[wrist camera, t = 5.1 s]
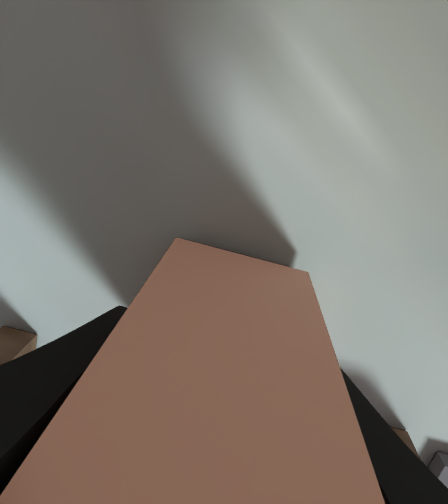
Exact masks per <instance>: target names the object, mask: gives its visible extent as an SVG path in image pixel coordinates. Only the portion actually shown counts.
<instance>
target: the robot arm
mask: <svg viewBox="0 0 448 504" xmlns="http://www.w3.org/2000/svg"><path fill="white" fill-rule="evenodd" d="M127 309H128V308H127V307H123V306H117V307H115V308H114V309H112V310H110V311H108V312H106V313H104V314H102V315H101V316H99V317H97V318H95V319H94V320H92V321H90V322H88V323H86V324H85V325H83V326H81V327H79V328H77V329H75V330H73V331H72V332H70V333H68V334H66V335H64V336H62V337H60V338H58V339H56V340H54V341H52V342H50V343H48V344H46V345H44V346H42V347H39V348H37V349H35V350H33V351H31V352H29V353H26V354H24V355H22V356H20V357H18V358H16V359H13V360H11V361H9V362H6V363H4V364H1V365H0V495H1V494H2V492H3V491H4V489H5V488H6V487H7V485H8V484H9V482H10V481H11V479H12V478H13V476H14V475H15V473H16V472H17V470H18V469H19V467H20V466H21V464H22V463H23V462H24V460H25V459H26V457H27V456H28V454H29V453H30V451H31V450H32V448H33V447H34V445H35V444H36V442H37V441H38V439H39V438H40V437H41V435H42V434H43V432H44V431H45V429H46V428H47V426H48V425H49V423H50V422H51V420H52V419H53V417H54V416H55V415H56V413H57V412H58V410H59V409H60V407H61V406H62V404H63V403H64V401H65V400H66V398H67V397H68V395H69V394H70V392H71V391H72V390H73V388H74V387H75V385H76V384H77V382H78V381H79V379H80V378H81V376H82V375H83V373H84V372H85V370H86V369H87V367H88V366H89V365H90V363H91V362H92V360H93V359H94V357H95V356H96V354H97V353H98V351H99V350H100V348H101V347H102V345H103V344H104V342H105V341H106V340H107V338H108V337H109V335H110V334H111V332H112V331H113V329H114V328H115V326H116V325H117V323H118V322H119V320H120V319H121V317H122V316H123V315H124V313H125V312H126V310H127ZM340 369H341V368H340ZM341 372H342V375H343V378H344V381H345V384H346V387H347V390H348V393H349V396H350V399H351V402H352V405H353V409H354V412H355V415H356V418H357V421H358V424H359V427H360V430H361V433H362V436H363V439H364V442H365V445H366V448H367V451H368V454H369V457H370V460H371V463H372V466H373V469H374V472H375V475H376V478H377V481H378V484H379V487H380V490H381V493H382V496H383V499H384V502H385V504H448V488H447V487H446V486H445V485H444V484H443V483H442V482H441V481H440V480H439V479H438V478H437V477H436V476H435V475H434V474H433V473H432V472H431V471H430V470H429V469H428V467H427V466H426V465H425V464H424V463H423V462H422V461H421V460H420V459H419V458H418V457H417V456H416V455H415V454H414V453H413V452H412V450H411V449H410V448H409V447H408V446H407V445H406V444H405V443H404V442H403V441H402V440H401V438H400V437H399V436H398V435H397V434H396V433H395V432H394V431H393V429H392V428H391V427H390V426H389V425H388V424H387V423H386V421H385V420H384V419H383V418H382V417H381V416H380V414H379V413H378V412H377V411H376V410H375V408H374V407H373V406H372V405H371V404H370V402H369V401H368V400H367V399H366V398H365V396H364V395H363V394H362V393H361V392H360V390H359V389H358V388H357V387H356V386H355V384H354V383H353V382H352V381H351V380H350V379H349V377H348V376H347V375H346V374H345V373H344V372H343V370H342V369H341Z"/></svg>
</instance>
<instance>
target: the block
mask: <svg viewBox="0 0 448 504" xmlns="http://www.w3.org/2000/svg"><path fill="white" fill-rule="evenodd" d="M0 504H385V502H384V499H383V496H382V493H381V490H380V487H379V484H378V481H377V478H376V475H375V472H374V469H373V466H372V463H371V460H370V457H369V454H368V451H367V448H366V445H365V442H364V439H363V436H362V433H361V430H360V427H359V424H358V421H357V418H356V415H355V412H354V409H353V405H352V402H351V399H350V396H349V393H348V390H347V387H346V384H345V381H344V378H343V375H342V372H341V369H340V366H339V363H338V360H337V357H336V354H335V351H334V348H333V345H332V342H331V339H330V336H329V333H328V330H327V327H326V324H325V321H324V318H323V315H322V312H321V309H320V306H319V303H318V300H317V297H316V294H315V291H314V288H313V285H312V282H311V279H310V276H309V273H308V272H306V271H302V270H298V269H294V268H290V267H287V266H283V265H279V264H275V263H272V262H268V261H264V260H260V259H256V258H253V257H249V256H245V255H241V254H238V253H234V252H230V251H226V250H223V249H219V248H215V247H211V246H207V245H204V244H200V243H196V242H192V241H189V240H185V239H181V238H177V237H176V238H175V240H174V241H173V243H172V244H171V245H170V247H169V248H168V250H167V251H166V253H165V254H164V256H163V257H162V259H161V260H160V262H159V263H158V265H157V266H156V267H155V269H154V270H153V272H152V273H151V275H150V276H149V278H148V279H147V281H146V282H145V284H144V285H143V287H142V288H141V290H140V291H139V292H138V294H137V295H136V297H135V298H134V300H133V301H132V303H131V304H130V306H129V307H128V309H127V310H126V312H125V313H124V315H123V316H122V317H121V319H120V320H119V322H118V323H117V325H116V326H115V328H114V329H113V331H112V332H111V334H110V335H109V337H108V338H107V340H106V341H105V342H104V344H103V345H102V347H101V348H100V350H99V351H98V353H97V354H96V356H95V357H94V359H93V360H92V362H91V363H90V365H89V366H88V367H87V369H86V370H85V372H84V373H83V375H82V376H81V378H80V379H79V381H78V382H77V384H76V385H75V387H74V388H73V390H72V391H71V392H70V394H69V395H68V397H67V398H66V400H65V401H64V403H63V404H62V406H61V407H60V409H59V410H58V412H57V413H56V415H55V416H54V417H53V419H52V420H51V422H50V423H49V425H48V426H47V428H46V429H45V431H44V432H43V434H42V435H41V437H40V438H39V439H38V441H37V442H36V444H35V445H34V447H33V448H32V450H31V451H30V453H29V454H28V456H27V457H26V459H25V460H24V462H23V463H22V464H21V466H20V467H19V469H18V470H17V472H16V473H15V475H14V476H13V478H12V479H11V481H10V482H9V484H8V485H7V487H6V488H5V489H4V491H3V492H2V494H1V495H0Z"/></svg>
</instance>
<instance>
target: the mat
mask: <svg viewBox="0 0 448 504" xmlns="http://www.w3.org/2000/svg"><path fill="white" fill-rule="evenodd" d="M428 469H429V470H430V471H431V472H432V473H433V474H434V475H435V476H436V477H437V478H438V479H439V480H440V481H441V482H442V483H443V484H444V485H445V486H446V487H447V488H448V454H444V453H440V452H437V453H436V455H435V457H434V458H433V460H432V462H431V463H430V465H429V467H428Z"/></svg>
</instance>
